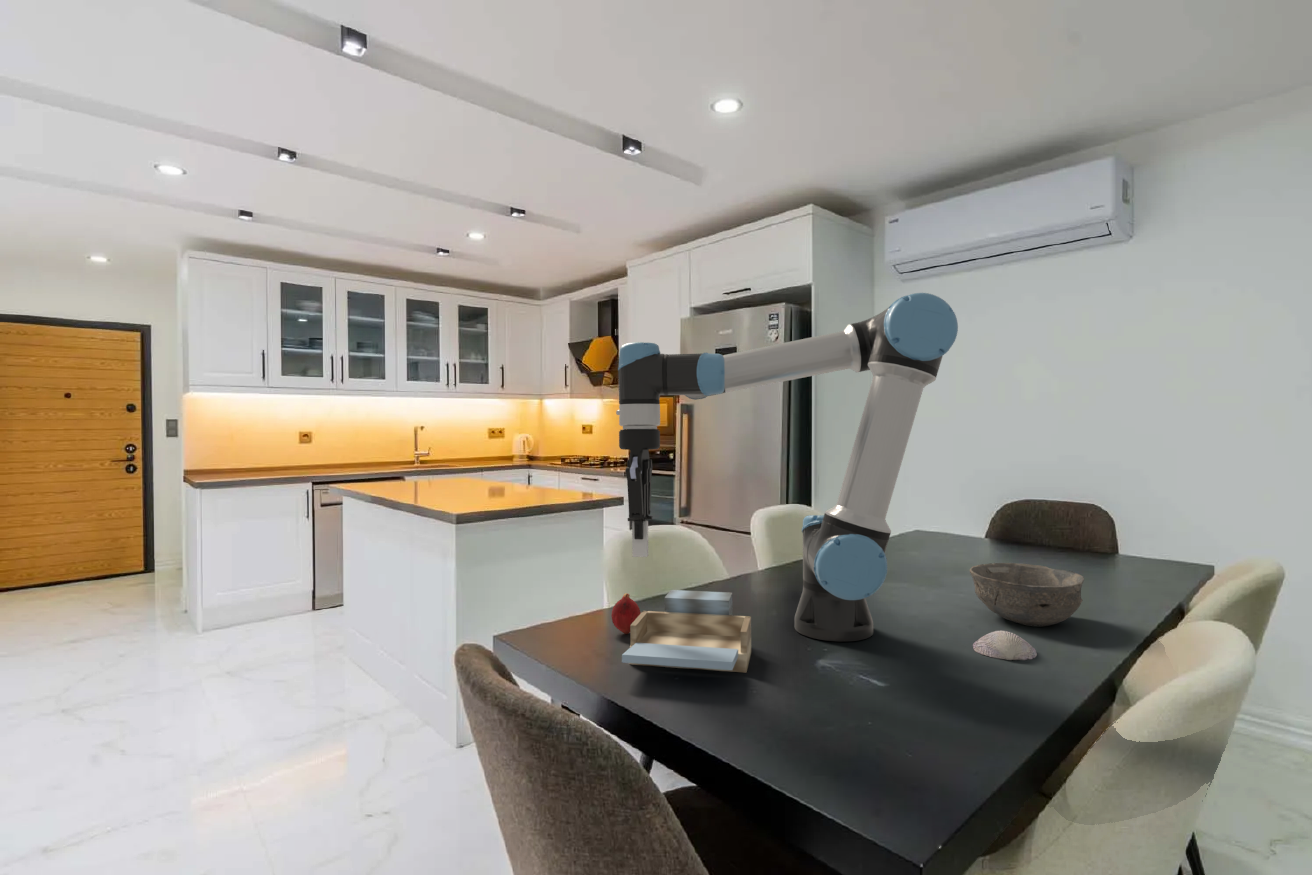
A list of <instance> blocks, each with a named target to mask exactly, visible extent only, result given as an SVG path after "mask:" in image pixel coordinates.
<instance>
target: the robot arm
mask: <svg viewBox="0 0 1312 875" xmlns="http://www.w3.org/2000/svg"><path fill="white" fill-rule="evenodd" d="M958 329H959V325H958V319H957V316H956V312H955V311H954V310H953V309H952V307H951V306H950V304H949V303H948V302H946V300H944V299H943V298H941V297H940V296H937V295H935V294H932V293H929V292H928V293H927V292H916V293H911V294H907V295H904V296H901V297H900V298H897V299H896V300H895V301H893V302H892V303H891V304H890V306H888V307H887V308H885V309H884V310H882V311H881V312H880V313H878V314H876V315H875V316H873V317H870V318H868V319H865V320H862V321H858V322H854V323H848V324H847V325H846V326H845V328H844V329H843V330H841V331H835V332H832V333H826V334H821V335H817V336H812V337H805V338H803V339H802V338H801V339H796V340H792V341H786V342H781V343H777V344H772V345H768V346H766V345H765V346H762V347H757V348H753V349H748V350H742V351H738V352H733V353H728V354H724V355H723V354H720V353H711V352H710V353H709V352H703V353H678V354H677V353H675V354H674V353H673V354H666V353H661V351H660V346H659V345H658V344H657V343H655V342H644V341H643V342H642V341H640V342H639V341H638V342H627V343H625V344H623V345H622V346H620V348H619V356H618V367H617V371H618V372H617V373H618V374H617V375H618V404H619V405H618V408H619V409H617V410H616V411H615V413H616V416H618V419H619V420H618V422H619V423H618V425H619V426H620V427H622V429H619V431H618V436H619V437H618V442H619V443H618V446H619V449H620V450H629V452H630V453H629V459H627V460H626V461H627V462H626V463H627V464H626V466H627V467H625V470H624V471H625V476H626V484H627V499H628V500H627V501H628V518H627V522H631V532H632V533H631V535H632V536H631V545H632V546H631V550H632V551H631V553H632V554H631V555H632V556H631V557H635V558H639V557H640V558H647V557H648V556H649V520H650V521H651V520H653V516H652V515H651V512H652V511H651V498H652V497H651V495H652V475H653V474H652V473H653V468H654V466H653V460H652V459H650V451H649V450H659V449H660V447H661V431H660V430H659V429H658V427H659V426H660V425H661V404H660V403H661V402H660V397H661V396H685V397H687V398H688V399H690V400H694V401H695V400H703V399H706V398H707V397H712V396H716V395H721V394H725V393H731V392H735V391H741V390H746V389H751V388H757V387H762V386H766V385H767V386H768V385H771V384H772V385H773V384H777V383H783V382H786V381H787V382H788V381H792V380H793V381H794V380H798V379H802V378H807V377H813V376H817V375H823V374H828V373H833V372H834V373H835V372H838V371H845V370H849V369H850V370H852V371H853V372H855V373H861V372H867V371H870V372H871V374H872V380H871V383H870V387H869V390H868V395H867V397H866V400H865V405H864V407H863V411H862V415H861V418H860V421H859V425H858V429H857V433H856V435H855V439H854V442H853V446H852V449H851V453H850V457H849V460H848V463H847V465H846V466H847V467H846V470H845V474H844V477H843V479H842V483H841V487H840V492H839V494H838V498H837V501H836V504H835V505H834V506H832V507H831V508H829V509H827V510H825V511H824V515H822V514H821V515H817V514H812V515H811V514H810V515H806V516H804V518H803V520H802V527H801V533H802V581H803V582H802V593H801V594H800V598H799V602H798V605H797V608H796V612H795V615H794V629H795V631H796V632H797V633H799V634H801V635H803V636H805V637H808V638H811V639H817V640H821V641H827V642H855V641H856V642H857V641H862V640H866V639H869V638H871V636H873V635H874V621H873V617H872V614H871V611H870V608H869V606H868V602H867V598H869V597H870V596H872V595H874V594H875V593H876V592H877V591H878V590H880V588H881V587H882V586H883V584H884V583H885V581H886V578H887V574H888V560H887V556H886V551H887V547H888V543H889V541H890V538H891V537H890V536H891V534H892V530H891V528H890V526H889V524H888V523H887V521H886V518H887V513H888V511H889V507H890V504H891V501H892V497H893V494H894V489H895V486H896V484H897V479H898V477H899V473H900V469H901V466H902V462H903V459H904V455H905V452H906V450H907V449H906V448H907V446H908V442H909V440H910V435H911V431H912V428H913V425H914V421H915V418H916V416H917V415H916V414H917V412H918V408H919V404H920V401H921V397H922V395H923V390H924V389H925V387H926V386H928V385H929V384H932V383H934V382H935V381H936V379H937V377H938V373H939V370H940V367H941V363H942V359H943V356H944V355H945V354H947V353H948V352H949V351H950V349H951V348H952V346H953V345H954V343H955V342H956V339H957V335H958V333H959V332H958V331H959V330H958Z"/></svg>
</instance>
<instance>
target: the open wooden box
mask: <svg viewBox="0 0 1312 875" xmlns="http://www.w3.org/2000/svg"><path fill="white" fill-rule="evenodd" d="M629 634H630V640H629V641H630V646H629V648H630V647H632V646H633V645H634V644H635V643H650V644H665V645H681V646H697V647H713V648H728V649H738V658H737V661H736V663H735V665H734V668H733V670H721V669H707V668H687V669H688V670H689V669H690V670H691V669H692V670H704V671H719V672H734V673H735V672H736V673H748V672H747V671H748V668H749V663H750V660H751V655H752V616H749V615H733V592H729V591H727V592H725V591H706V590H705V591H704V590H702V591H701V590H684V589H683V590H681V589H670V590H669V592H668V593H667V594H666V595H665V596H664V611H654V610H653V611H652V610H642V611H641V614H640V615H639V616H638V617H637V618H636V619H635V621H634V622H633V623H632V624H631V625H630V633H629ZM629 648H628V649H629ZM629 665H635V666H648V667H662V668H664V667H665V668H669V667H668V666H662V665H651V664H637V663H629ZM674 668H677V669H683V668H682V667H673V669H674Z"/></svg>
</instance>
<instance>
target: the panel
mask: <svg viewBox="0 0 1312 875" xmlns="http://www.w3.org/2000/svg"><path fill="white" fill-rule="evenodd" d="M629 647H630V646H629ZM737 658H738V649H728V648H713V647H697V646H681V645H665V644H650V643H635V644H634V645H633V646H632V647H630V648H628V649H627V650H625V652H623V653H622V654H621V663H624V664H625V663H626V664H630V663H637V664H651V665H662V666H668V667H667V668H674V667H682V668H681V669H688V668H707V669H721V670H733V668H734V665H735V663H736V661H737Z"/></svg>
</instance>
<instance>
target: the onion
mask: <svg viewBox="0 0 1312 875" xmlns="http://www.w3.org/2000/svg"><path fill="white" fill-rule="evenodd" d="M641 613H642V611H641V610H640V607H639V605H638V603H637V602H636V601H635V600H633V599H632V598H630V594H629V593H628V592H626V593H624V594H623V595H622V597H621V599H619V600H618V601H617V602H616V603H615V604H614V605H613V607H612V610H611V621H612V624H613V626H614V627H615V628H616V629H617V630H618V631H620V632H622V634H624V635H628V634H630V625H631V624H632V623H633V622H634V621H635V619H636V618H637V617H638V616H639V615H640V614H641Z"/></svg>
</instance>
